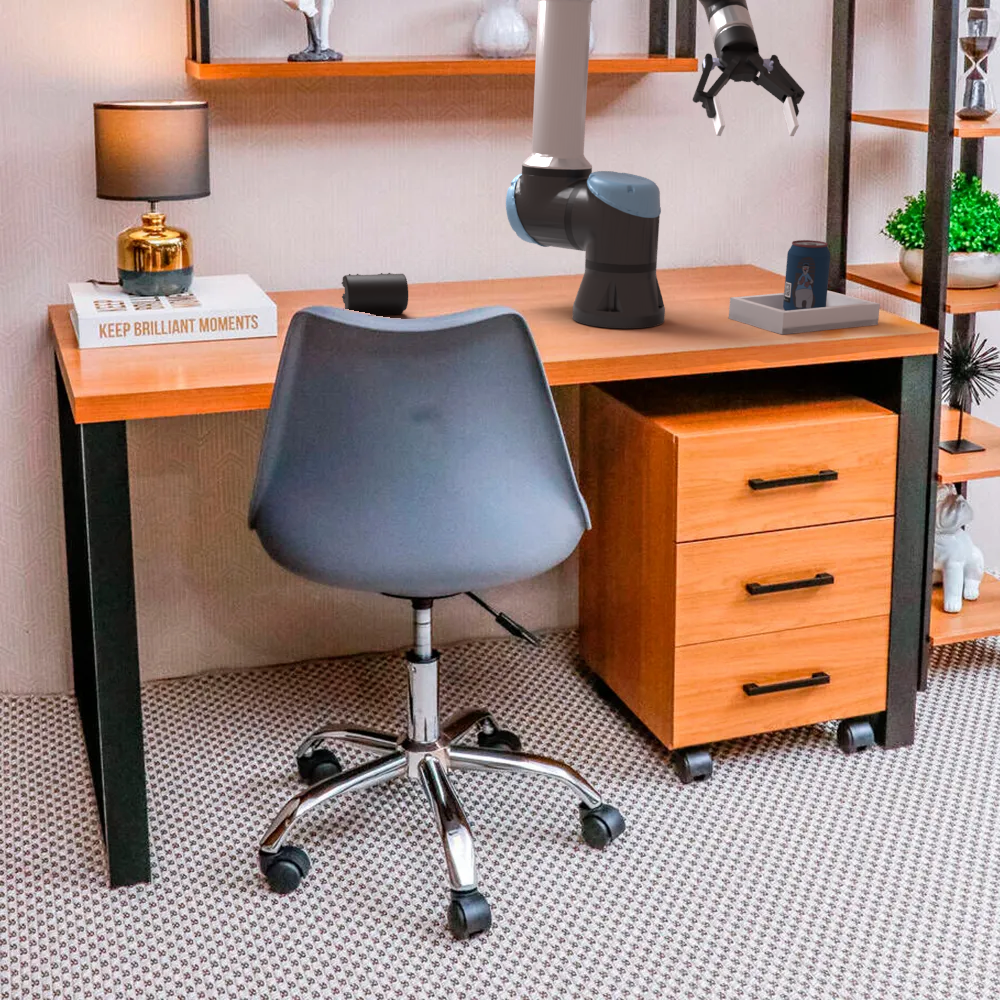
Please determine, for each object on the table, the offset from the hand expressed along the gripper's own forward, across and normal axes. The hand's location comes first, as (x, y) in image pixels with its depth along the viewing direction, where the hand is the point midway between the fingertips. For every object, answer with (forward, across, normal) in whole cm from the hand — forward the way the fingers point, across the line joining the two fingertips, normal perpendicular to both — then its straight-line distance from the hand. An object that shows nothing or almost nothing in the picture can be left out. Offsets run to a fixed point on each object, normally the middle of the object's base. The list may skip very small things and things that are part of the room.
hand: (757, 131), depth 250 cm
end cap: (+28, +69, -13) cm, 75 cm away
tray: (+37, -1, -3) cm, 38 cm away
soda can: (+37, -1, -3) cm, 37 cm away
